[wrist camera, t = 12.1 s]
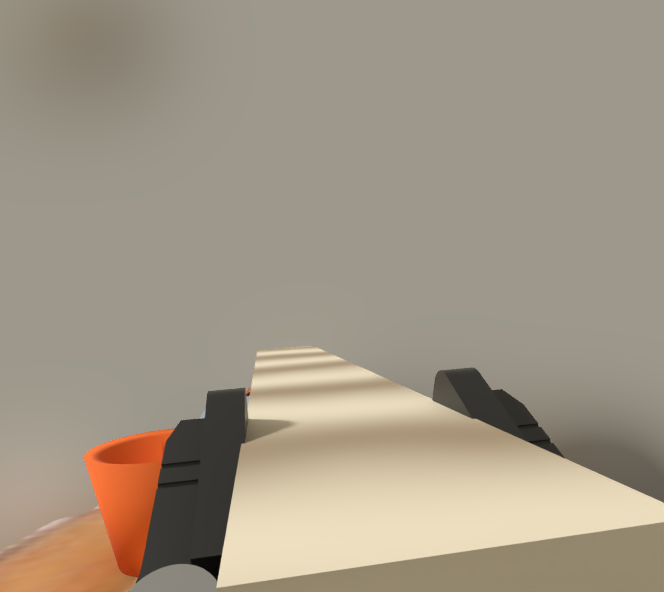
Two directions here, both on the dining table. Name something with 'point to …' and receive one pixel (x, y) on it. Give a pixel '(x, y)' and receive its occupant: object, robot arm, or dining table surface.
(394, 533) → the ash bar
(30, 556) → the dining table surface
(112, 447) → the flowerpot
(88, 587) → the dining table surface
